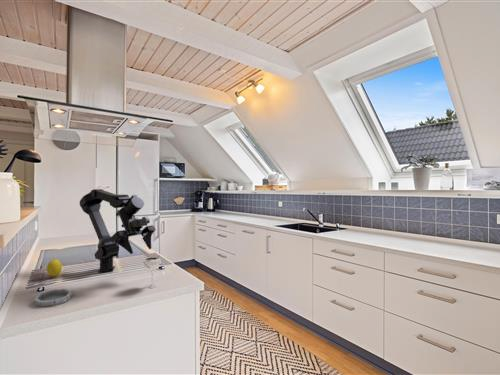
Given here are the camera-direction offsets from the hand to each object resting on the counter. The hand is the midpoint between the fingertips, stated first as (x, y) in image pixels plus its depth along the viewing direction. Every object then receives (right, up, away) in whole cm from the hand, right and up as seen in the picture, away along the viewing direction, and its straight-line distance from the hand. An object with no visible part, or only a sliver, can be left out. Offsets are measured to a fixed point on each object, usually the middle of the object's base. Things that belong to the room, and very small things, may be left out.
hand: (141, 251), depth 122 cm
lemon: (-40, -13, +4) cm, 42 cm away
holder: (-25, -14, -18) cm, 34 cm away
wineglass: (+5, -14, -3) cm, 15 cm away
